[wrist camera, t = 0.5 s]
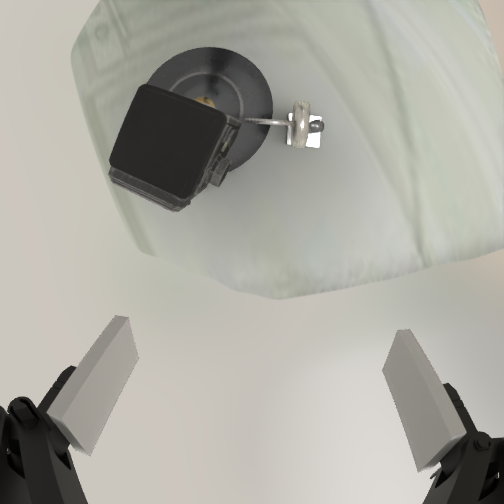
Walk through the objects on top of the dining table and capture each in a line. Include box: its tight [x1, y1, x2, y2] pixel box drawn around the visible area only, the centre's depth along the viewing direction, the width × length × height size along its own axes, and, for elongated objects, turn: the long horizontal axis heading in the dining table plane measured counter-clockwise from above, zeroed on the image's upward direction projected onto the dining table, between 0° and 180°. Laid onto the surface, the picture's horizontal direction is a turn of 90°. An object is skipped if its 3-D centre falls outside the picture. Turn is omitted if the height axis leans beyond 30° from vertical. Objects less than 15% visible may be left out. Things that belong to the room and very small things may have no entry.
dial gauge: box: [245, 101, 324, 148], centre depth 28 cm, size 4×8×12 cm, turn 87°
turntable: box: [147, 47, 273, 172], centre depth 33 cm, size 18×18×1 cm
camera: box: [108, 84, 242, 212], centre depth 28 cm, size 10×10×15 cm
